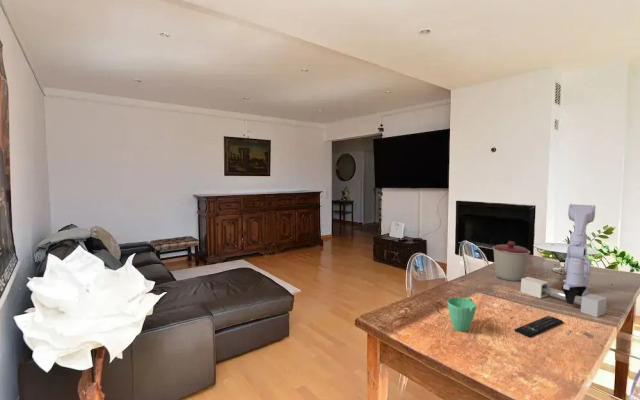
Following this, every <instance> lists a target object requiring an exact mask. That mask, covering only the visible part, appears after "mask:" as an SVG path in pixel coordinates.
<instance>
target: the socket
mask: <svg viewBox="0 0 640 400" xmlns="http://www.w3.org/2000/svg"><path fill="white" fill-rule="evenodd" d="M581 297H582V301H581V305H580V312H581V313H583V314H586V315H589V316H592V317H595V318H598V317H601V316H602V315H605V314H606V311H607V310H606V309H607V299H608V298H607V297H606V296H601V295H599V294H594V293H591V292H590V293H588V294H586V295H583V296H581Z"/></svg>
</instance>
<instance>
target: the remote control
mask: <svg viewBox="0 0 640 400" xmlns="http://www.w3.org/2000/svg"><path fill="white" fill-rule="evenodd" d="M561 324H564V321H563V320H562V319H560V318H557V317H554V316H550V315H546V316H544V317H541V318H539V319H537V320H533V321H532V322H529V323H526V324H525V325H521V326H519V327H517V328H514V332H515V333H517V334H520V335H523V336H524V337H527V338H532V337H534V336H537V335H539V334H540V333H543V332H545V331H548V330H550V329H553V328H554V327H557V326H559V325H561Z"/></svg>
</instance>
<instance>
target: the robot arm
mask: <svg viewBox="0 0 640 400" xmlns="http://www.w3.org/2000/svg"><path fill="white" fill-rule="evenodd" d="M596 207H597V206H596V205H595V204H593V205H591V204H572V203H570V204H568V211H567V215H568V216H567V217H568V219H569V220H570V221H572V222H573V223H574V224H573V225H574V228H573V229H574V231H572V232H571V233H570V236H569V244H568V245H567V249H566V250H567V251H566V257H565V262H564V267H563V269H564V272H565V273H566V279H563V282H564V284H563V286H561V291H563V292H564V294H565V298H566V300H565V301H566V302H565V303H566V304H568V305H571V306H572V305H574V304H575V303H574V299H575V296H576V295H578V296H581V297H582V296H585V295H587V294H590V293H591V291H589V283H590V281H589V276H590V275H591V268H592V266H591V265H592V261H591V259H589V258H588V257H587V254H588V248H587V239H588V234H587V227H588V226H587V225H588V224H589V223H592V222H594V220H595V217H596Z"/></svg>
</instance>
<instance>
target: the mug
mask: <svg viewBox="0 0 640 400" xmlns="http://www.w3.org/2000/svg"><path fill="white" fill-rule="evenodd" d="M447 308H448V309H447V310H448V313H449V317H450V321H451V323H452V324H451V325H452V326H453V329H454V330H455V331H458V332H461V333H466V332H468V331H469V329H470V327H471V324H472V322H473V320H474V317H475V314H476V309H477V303H476V302H474V301H473V298H471V297H465V298H464V297H463V298H462V297H451V298H448V299H447Z"/></svg>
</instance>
